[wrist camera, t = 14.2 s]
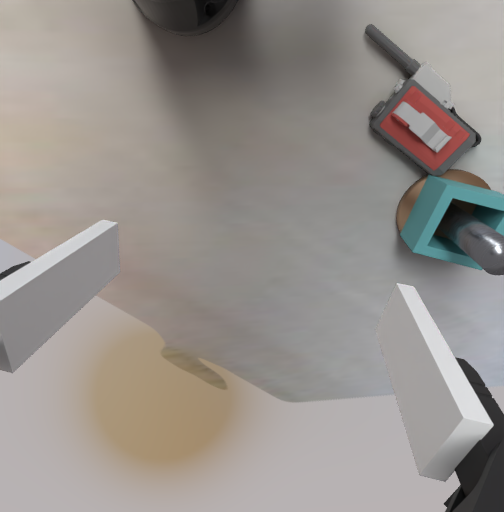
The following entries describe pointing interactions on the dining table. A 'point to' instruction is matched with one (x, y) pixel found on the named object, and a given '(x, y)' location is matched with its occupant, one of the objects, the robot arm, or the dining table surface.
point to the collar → (433, 208)
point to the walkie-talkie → (421, 115)
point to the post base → (455, 175)
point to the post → (474, 239)
